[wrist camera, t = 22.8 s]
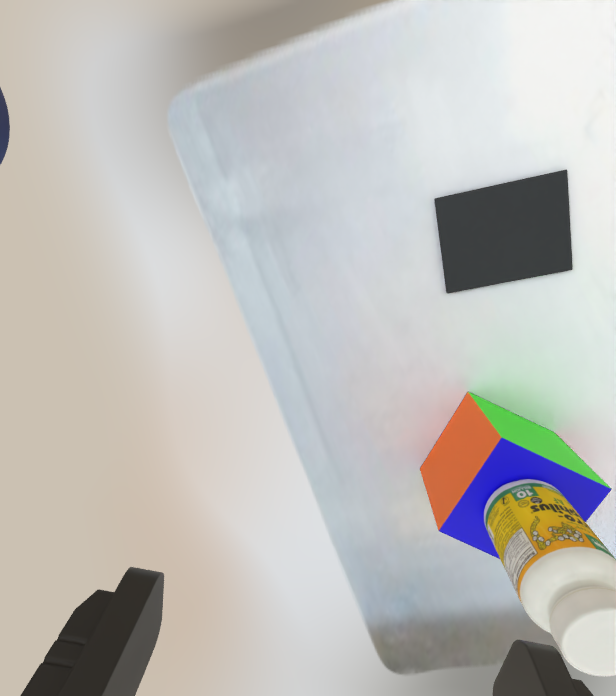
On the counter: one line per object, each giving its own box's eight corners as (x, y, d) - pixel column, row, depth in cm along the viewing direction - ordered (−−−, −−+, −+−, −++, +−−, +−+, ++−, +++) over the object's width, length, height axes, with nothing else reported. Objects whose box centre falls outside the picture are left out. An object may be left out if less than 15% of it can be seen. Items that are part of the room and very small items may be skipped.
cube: (501, 506, 38) (541, 577, 30) (419, 468, 37) (438, 530, 30) (554, 432, 36) (611, 489, 28) (467, 391, 35) (501, 437, 28)
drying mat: (446, 292, 33) (447, 293, 33) (434, 198, 32) (435, 198, 31) (570, 269, 32) (572, 269, 32) (564, 170, 30) (567, 169, 30)
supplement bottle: (468, 529, 30) (523, 666, 20) (503, 464, 28) (580, 580, 19) (542, 555, 30) (630, 703, 20) (581, 491, 28) (695, 620, 19)
